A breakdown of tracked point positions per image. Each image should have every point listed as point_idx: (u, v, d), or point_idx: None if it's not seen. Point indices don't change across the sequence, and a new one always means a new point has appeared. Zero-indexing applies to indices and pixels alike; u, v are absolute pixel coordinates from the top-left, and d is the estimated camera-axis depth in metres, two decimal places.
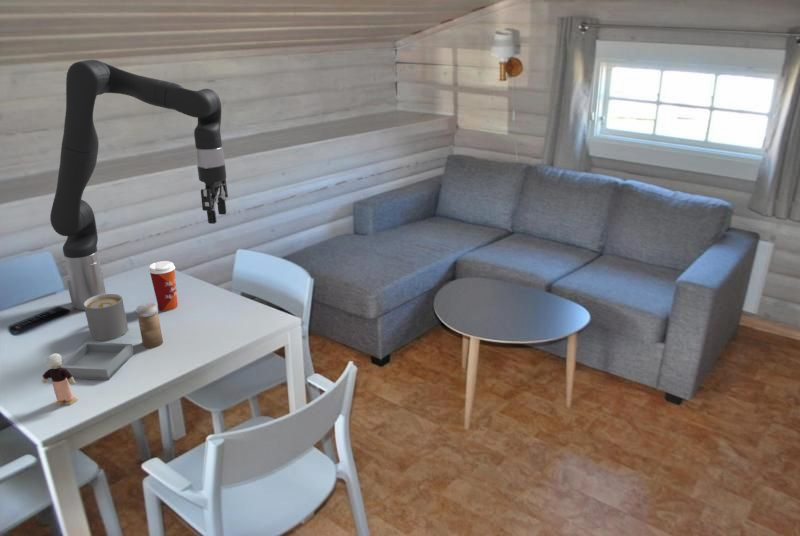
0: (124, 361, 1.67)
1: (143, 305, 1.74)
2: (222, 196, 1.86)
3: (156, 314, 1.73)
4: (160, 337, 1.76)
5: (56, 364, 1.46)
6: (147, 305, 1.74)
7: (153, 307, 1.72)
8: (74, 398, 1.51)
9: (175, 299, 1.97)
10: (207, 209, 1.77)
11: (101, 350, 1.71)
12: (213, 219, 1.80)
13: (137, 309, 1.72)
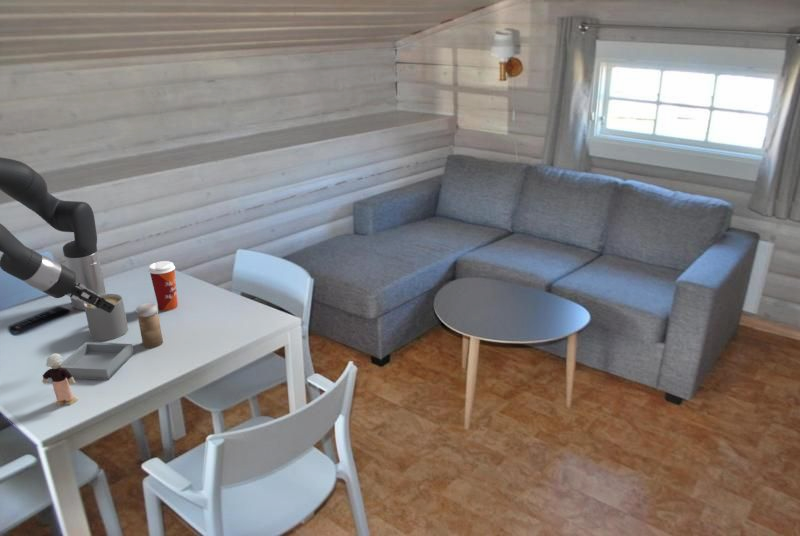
0: (124, 361, 1.67)
1: (143, 305, 1.74)
2: (81, 288, 1.60)
3: (156, 314, 1.73)
4: (160, 337, 1.76)
5: (56, 364, 1.46)
6: (147, 305, 1.74)
7: (153, 307, 1.72)
8: (74, 398, 1.51)
9: (175, 299, 1.97)
10: (102, 303, 1.55)
11: (101, 350, 1.71)
12: (110, 305, 1.59)
13: (137, 309, 1.72)
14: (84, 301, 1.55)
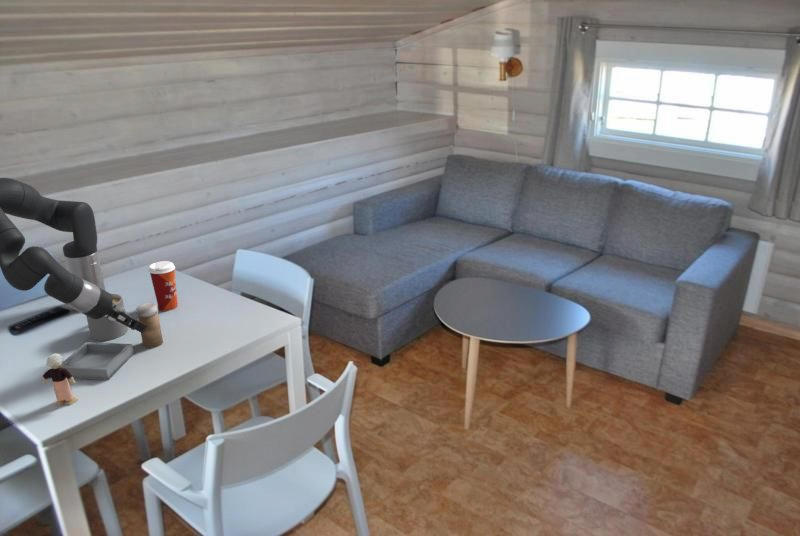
0: (124, 361, 1.67)
1: (143, 305, 1.74)
2: None
3: (156, 314, 1.73)
4: (160, 337, 1.76)
5: (56, 364, 1.46)
6: (147, 305, 1.74)
7: (153, 307, 1.72)
8: (74, 398, 1.51)
9: (175, 299, 1.97)
10: (136, 325, 1.64)
11: (101, 350, 1.71)
12: (143, 326, 1.68)
13: (137, 309, 1.72)
14: (119, 322, 1.64)
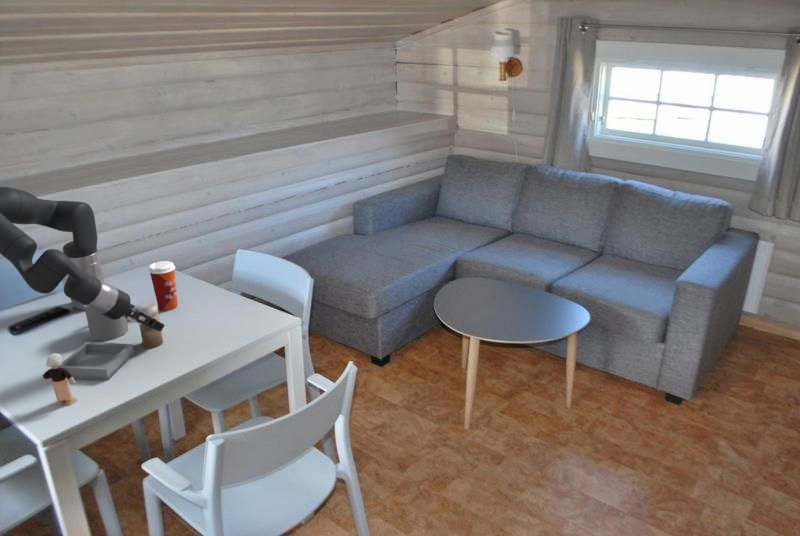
0: (124, 361, 1.67)
1: (143, 305, 1.74)
2: None
3: (156, 314, 1.73)
4: (160, 337, 1.76)
5: (56, 364, 1.46)
6: (147, 305, 1.74)
7: (153, 307, 1.72)
8: (74, 398, 1.51)
9: (175, 299, 1.97)
10: (154, 323, 1.69)
11: (101, 350, 1.71)
12: (161, 324, 1.73)
13: None
14: None
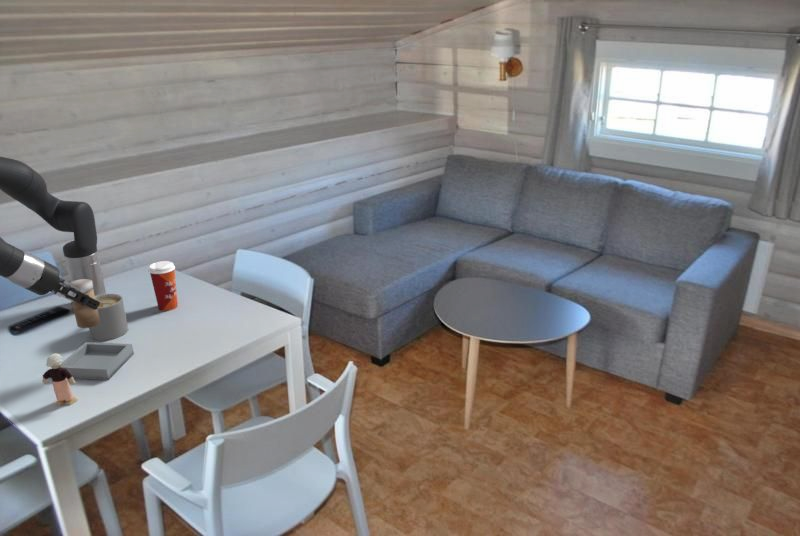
0: (124, 361, 1.67)
1: (77, 281, 1.59)
2: None
3: (91, 291, 1.58)
4: (96, 316, 1.60)
5: (56, 364, 1.46)
6: (81, 281, 1.59)
7: (87, 283, 1.57)
8: (74, 398, 1.51)
9: (175, 299, 1.97)
10: (86, 300, 1.54)
11: (101, 350, 1.71)
12: (96, 302, 1.58)
13: None
14: (69, 298, 1.53)
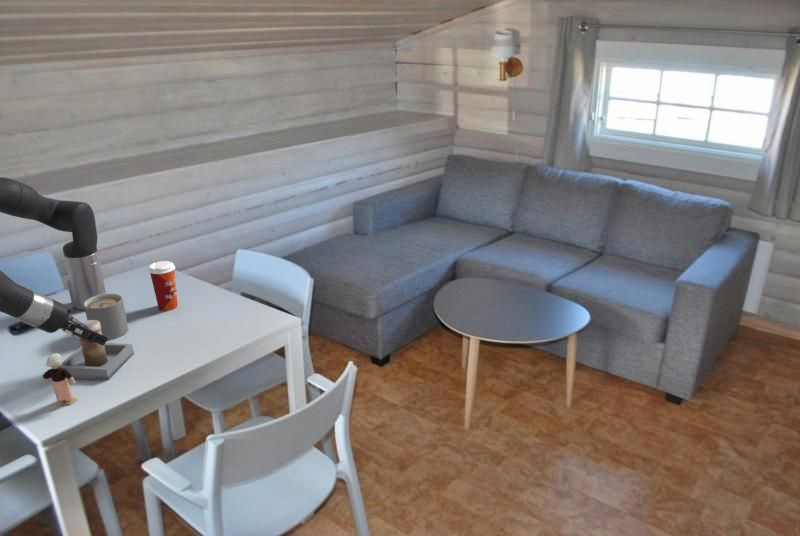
0: (124, 361, 1.67)
1: (85, 322, 1.63)
2: None
3: (98, 332, 1.62)
4: (104, 356, 1.65)
5: (56, 364, 1.46)
6: (89, 322, 1.63)
7: (95, 325, 1.61)
8: (74, 398, 1.51)
9: (175, 299, 1.97)
10: (94, 337, 1.57)
11: None
12: (103, 338, 1.61)
13: None
14: (77, 335, 1.57)
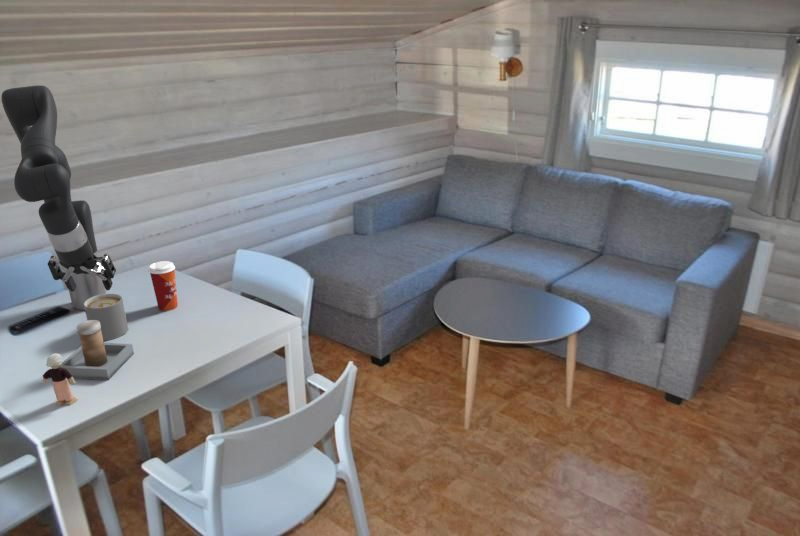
0: (124, 361, 1.67)
1: (85, 322, 1.63)
2: None
3: (98, 332, 1.62)
4: (104, 356, 1.65)
5: (56, 364, 1.46)
6: (89, 322, 1.63)
7: (95, 325, 1.61)
8: (74, 398, 1.51)
9: (175, 299, 1.97)
10: (114, 273, 1.58)
11: None
12: None
13: (78, 327, 1.61)
14: (95, 271, 1.55)
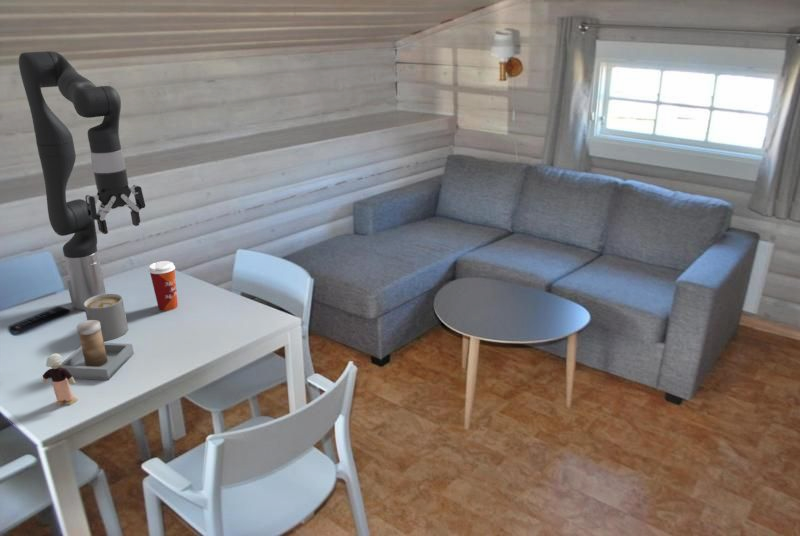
0: (124, 361, 1.67)
1: (85, 322, 1.63)
2: None
3: (98, 332, 1.62)
4: (104, 356, 1.65)
5: (56, 364, 1.46)
6: (89, 322, 1.63)
7: (95, 325, 1.62)
8: (74, 398, 1.51)
9: (175, 299, 1.97)
10: None
11: None
12: None
13: (78, 327, 1.61)
14: (131, 201, 1.67)
